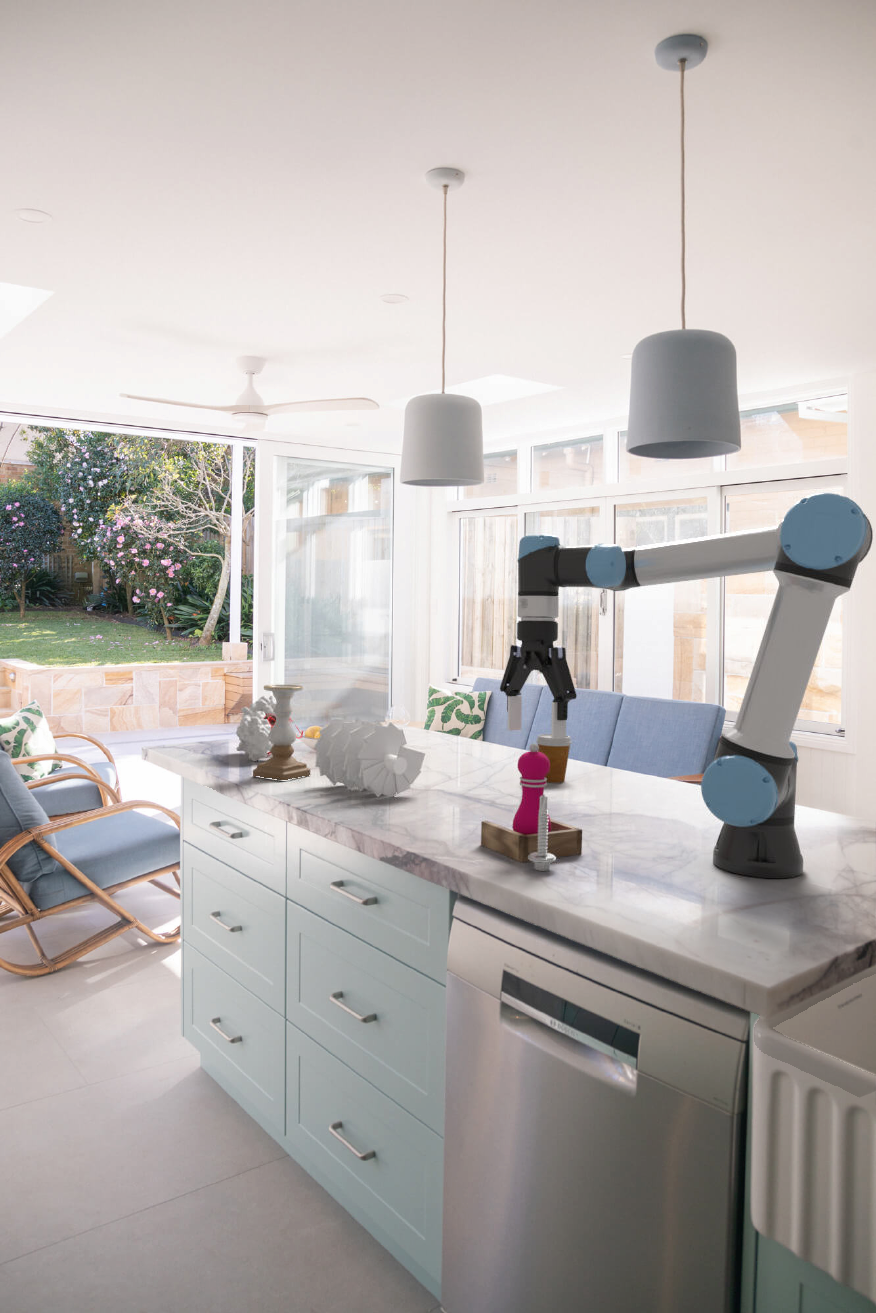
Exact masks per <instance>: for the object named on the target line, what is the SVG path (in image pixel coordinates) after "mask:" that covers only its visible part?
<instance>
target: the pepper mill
mask: <svg viewBox="0 0 876 1313" xmlns="http://www.w3.org/2000/svg"><path fill="white" fill-rule="evenodd" d="M538 750H539V746H538V744H537V742H534V743H531V744H529V751H526V752H524V753H523V754H521V755H520V756H519V758H518V760H517V771H518V772H519V773H520V775H521V776H520V777H519V780H520V781H519V785H521V790H522V794H521V801H520V803H519V806H518V807H517V808H518V809H517V810H516V812H515V815H514V816H513V820H512V830H513V831H515V832H518V833H521V834H523V835H529V834H537V833H538V832H537V831H538V824H539V822H538V821H539V819H538V817H539V815H538V814H539V809H540V796H542V795H544V792H545V791H544V790H545V787H546V786H547V785H548V784H547V782H546V781H547V779H546V778H545V776H546V774H547V773H548V772H549V770H550V762H549V759H548V758H547V756H546V755H545V754H543V753H541V752H538ZM548 816H549V817H548V821H547V823H548V825H547V826H548V828H547V829H548V831H547V832H550V831H551V821H550V819H551V817H550V814H548Z"/></svg>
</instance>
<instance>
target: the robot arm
mask: <svg viewBox="0 0 876 1313" xmlns="http://www.w3.org/2000/svg"><path fill="white" fill-rule="evenodd" d="M873 533H874V532H873V528H872V524H871V521H870V520H869V517H868V516H867V515H866V514H865V513H864V511H863V510H862V508H861V506H860V505H858V504H857V502H855V501H854V500H853V499H851V498H850V497H847V496H843V495H840V494H838V493H832V492H821V493H815V494H810V495H807V496H806V497H804V498H802V499H800V500H799V501H797V502H796V503H794V505H792V507H790V509H789V510H788V511H787V512H786V514H785V516H784V518H783V519H782V521H781V522H780V523H779V524H777V526H772V527H764V528H758V529H750V530H742V531H736V532H731V533H730V532H729V533H724V534H723V533H722V534H716V535H711V536H709V535H708V536H703V537H697V538H695V537H694V538H688V539H683V540H677V541H676V540H675V541H669V542H662V543H655V544H648V545H641V546H637V547H628V548H627V547H626V548H622V547H621V546H620V545H618V544H606V543H597V544H587V545H586V544H583V545H582V544H580V545H568V546H567V545H561V544H560V543H561V541H560V537H559V536H556V535H552V534H532V535H531V534H530V535H529V534H528V535H524V536H523V537H521V538H520V540H519V544H518V557H517V570H518V571H517V572H518V573H517V576H518V578H517V583H518V584H517V589H518V590H517V617H518V618H520V620H518V622H517V623H516V628H517V629H516V639H517V640H518V641H520V642H521V644H510V648H509V658H508V661H507V663H506V666H505V670H504V674H503V677H502V680H501V684H500V687H499V690H500V692H503V693H505V696H506V704H507V705H506V711H507V727H506V729H507V731H509V732H510V731H521V730H522V710H523V709H522V704H523V703H522V702H523V701H522V700H523V699H522V698H523V696H522V693H521V692H522V689H523V687H524V685H525V683H526V682H527V680H528V678H529V677H530V674H531V673H532V672H533V671H539V673H540V674H541V675H543V677H544V680H545V682H546V685H547V686H548V688H549V691H550V692H551V695H552V697H553V699H552V701H551V724H550V725H551V726H550V727H551V728H550V729H551V732H550V734H551V739H561V738H566V735H567V720H568V716H569V715H568V714H569V713H568V708H569V707H568V706H569V702H570V701H572V700H576V699H577V693H576V689H575V686H574V682H573V678H572V675H571V671H570V668H569V665H568V661H567V655H566V654H567V653H566V647H565V646H554V642H555V641H557V640H558V639H559V638H558V636H559V623H558V621H556V619H557V618H559V607H560V606H559V600H560V599H559V590H560V589H559V588H594V589H603V590H609V591H613V592H621V591H623V592H624V591H627V590H630V589H633V588H640V587H647V586H655V585H664V584H672V583H679V582H680V583H681V582H690V581H697V580H706V579H714V578H722V577H729V576H738V575H746V574H755V573H765V572H771V571H772V573H773V575H775V578H776V580H777V581H778V588H777V592H776V593H775V598H774V601H773V604H772V607H771V610H770V613H769V616H768V619H767V623H766V626H765V629H764V632H763V636H762V638H761V641H760V646H759V648H758V651H757V655H756V657H755V661H754V663H753V664H754V665H753V666H752V669H751V670H752V671H751V672H750V677H749V680H748V683H747V686H746V689H745V693H744V695H743V699H742V700H741V701H742V702H741V705H740V708H739V711H738V713H737V714H738V715H737V718H736V720H735V724H734V725H733V726H732V727H729V728H728V729H725V730H723V731H722V733H721V736H720V739H719V742H718V746H717V749H716V753H715V755H714V759H713V761H711V762H710V764H709V765H708V766H707V767H706V769H705V771H704V772H703V775H702V779H701V784H700V791H701V797H702V799H703V801H704V803H705V805H706V808H707V810H708V811H709V812H710V813H711V814H712V815H713V816H714V817H716V818H717V819H718V820H720V821H721V822H723V825H722V826H721V829H720V832H719V834H718V838H717V840H716V844H715V845H714V847H713V850H712V852H713V853H712V862H713V863H712V864H713V865H715V866H716V867H718V868H720V869H722V870H725V871H727V872H730V873H732V874H733V873H734V874H739V875H742V876H747V877H755V878H765V879H786V878H787V879H788V878H789V879H790V878H794V877H798V876H800V875H802V874H803V873H804V857H803V855H802V853H801V852H802V851H801V848H800V844H799V839H798V836H797V833H796V829H795V828H796V827H795V815H796V794H797V793H796V792H797V790H796V789H797V771H798V770H797V768H798V762H799V757H798V746H797V745H796V743H795V742H794V741H790V739H791V736H792V734H793V730H794V728H795V724H796V720H797V718H798V715H799V712H800V709H801V707H802V706H801V705H802V703H803V701H804V697H805V694H806V690H807V687H808V685H809V682H810V681H809V680H810V679H811V675H812V672H813V670H814V666H815V662H816V660H817V657H818V653H819V651H820V648H821V645H822V641H823V639H824V636H825V632H826V630H827V626H828V624H829V621H830V617H831V614H832V611H833V608H834V604H835V602H836V600H837V598H838V597H840V596H842V595H844V594H845V593H848V592H849V591H850V590H851V588H852V587H851V586H852V584H853V581H854V578H855V576H856V572H857V569H858V567H859V564H861V563H862V562H863V561H864V559H865V558H866V557H867V556H868V554H869V552H870V550H871V547H872V544H873V540H874V539H873V535H874V534H873Z"/></svg>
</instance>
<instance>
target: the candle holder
mask: <svg viewBox="0 0 876 1313" xmlns="http://www.w3.org/2000/svg"><path fill="white" fill-rule="evenodd" d="M303 689H304V687H303V686H302V685H298V684H267V685H264V686H263V690H265V691H266V692H267V691H268V692H272V696H273V697H274V700H275V701H276V706H275V708H274V709H273V712H275V715H276V722H275V724H274V726H273V727H272V729H271V731H270V732H269V736H268V738H269V741H270V742H271V743H272V744H274V745H273V747H272V748H271V753H270V754H271V755H272V756H271V757H270V758H268V759H267V760H266V761H264V762H260V763H258V764H257V765H256V768H255V769H252V777H253V776H260V777H264V778H272V779H277V780H288V779H292V778H298V777H302V776H308V777H310V776H311V769H310V768H309V767H308V765H307V763H306V762H301V761H298V760H297V759H296V758H295V757H293V756H292V755H293V754H294V753H295V749H294V748H293V746H292V744H294V743H295V742H296V741H297V738H296V737H298V735H297V732H296V730H295V729H294V727H293V725H292V723H290V721H291V720H290V721H289V717H290V718H291V715H292V713H293V711H294V709H293V708H292V706H291V699H292V698H293V697H294V694H295V692H301V691H303ZM296 735H297V736H296ZM309 775H310V776H309Z"/></svg>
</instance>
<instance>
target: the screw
mask: <svg viewBox="0 0 876 1313" xmlns="http://www.w3.org/2000/svg"><path fill="white" fill-rule="evenodd" d="M548 798H549V797H548V796H547V795H546V794H543V795H542V796H540V809H539V814H538V815H539V817H538V819H539V821H538V822H539V824H538V831H537V832H538V838H537V839H538V841H537V842H538V845H537V846H538V848H537V849H538V851H537V852H534V853H531V854H530V855H528V859H529V860H531V861H530V862H532V863H533V869H535V871H537V872H538V871H540V872H545V871H550V867H551V866H550V864H551V863H553V862H556V860H557V858H556V857H555V856H554V855H553V854H550V853H547V851H548V850H547V848H548V847H547V845H548V843H547V841H548V840H547V838H548V836H547V835H548V833H547V831H548V829H547V828H548V826H547V825H548V823H547V821H548V817H550V814H549V812H548V811H549V809H548V800H549V799H548ZM548 814H549V816H548Z"/></svg>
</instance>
